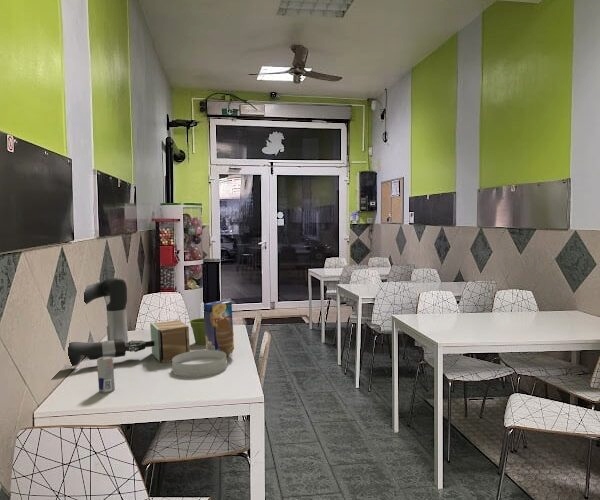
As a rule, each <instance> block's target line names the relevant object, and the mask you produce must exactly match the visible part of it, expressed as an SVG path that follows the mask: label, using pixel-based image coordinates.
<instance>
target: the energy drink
mask: <svg viewBox="0 0 600 500" xmlns="http://www.w3.org/2000/svg"><path fill="white" fill-rule="evenodd" d="M96 362H97V363H96V364H97V366H96V367H97V368H96V369H97V378H98V380H97V382H98V392H99V393H100V394H108V393H112V392H113V390H115V389H116V388H115V387H116V386H115V385H116V384H115V371H114V358H112V357H111V356H104V357H100V358H98V359H96ZM111 391H112V392H111ZM107 392H108V393H107Z"/></svg>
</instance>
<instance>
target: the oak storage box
mask: <svg viewBox="0 0 600 500" xmlns="http://www.w3.org/2000/svg"><path fill="white" fill-rule="evenodd" d="M153 323H154V324H155V325H156V326H157V327H158V328H159V329H160V336H161V353H162V362H161V363H167V362H172V359H173V357H175V356H177V355H179V354H182V353H186V352H190V351H191V350H190V347H191V346H190V333H189V332H190V331H189V330H190V329H189V327H190V326H188V325H187V324H186V323H184V322H183V321H182V320H181V319H176V320H169V321H168V320H167V321H162V322H161V321H160V322H153Z"/></svg>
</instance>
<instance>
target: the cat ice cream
mask: <svg viewBox="0 0 600 500" xmlns="http://www.w3.org/2000/svg"><path fill="white" fill-rule="evenodd" d="M216 338H217V343H218V347H219V349H220V351H222V352H225V353H226V357H228V356H229V355H230V353H231V350H232V349H231V348H232V343H233V340H234V326H233V327H232V326H231V323H230V320H229V319H228V318H226V317H225V316H224V315H223V316H222V318H220V319H219V320H218V322H217V327H216Z"/></svg>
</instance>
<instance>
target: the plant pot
mask: <svg viewBox="0 0 600 500" xmlns="http://www.w3.org/2000/svg"><path fill="white" fill-rule="evenodd" d="M188 322H189V323H190V326H191V329H192V334H193V337H194V343H195V344H197V345H204V344H205V345H206V338H205V319H204V317H202V318H194V319H190V320H189V321H188Z"/></svg>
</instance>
